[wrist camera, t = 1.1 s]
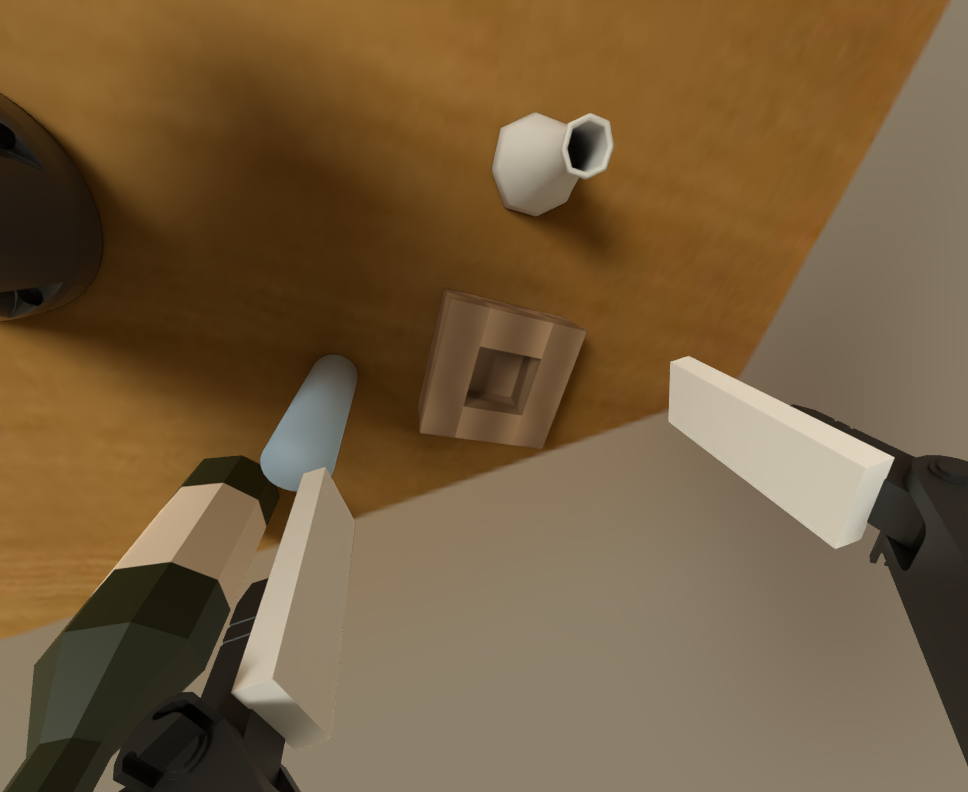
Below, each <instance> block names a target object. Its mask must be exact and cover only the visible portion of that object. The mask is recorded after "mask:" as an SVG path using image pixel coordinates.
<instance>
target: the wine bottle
mask: <svg viewBox="0 0 968 792" xmlns="http://www.w3.org/2000/svg"><path fill="white" fill-rule="evenodd" d="M278 499H279V494H278V491H277V487H276V485H275V484H273V483H272V482H271V481H269V480H268V479H267V477H266V476H265V475H264V473H263V471H262V469H261V466H260V465H258V464H256V463H254V462H253V461H251V460H249V459H247V458H245V457H243V456H231V457H220V458H209V459H204V460H203V461H202V462H201V463H200V464H199V466H198V467H197V468H196V469H195V470H194V471H193V472H192V474H191V475H190V476H189V477H188V478H187V479H186V480H185V482H184V483H183V484H182V485H181V487H180V488H179V489H178V490H177V491H176V493H175V494H174V495H173V496H172V498H171V499H170V500H169V501H168V502H167V504H166V505H165V506H164V507H163V509H162V510H161V511H160V512H159V513H158V515H157V516H156V517H155V518H154V520H153V521H152V522H151V523H150V524H149V526H148V527H147V528H146V529H145V531H144V532H143V533H142V534H141V535H140V537H139V538H138V539H137V540H136V542H135V543H134V544H133V545H132V546H131V548H130V549H129V550H128V551H127V553H126V554H125V555H124V556H123V557H122V559H121V560H120V561H119V562H118V564H117V565H116V566H115V567H114V568H113V570H112V571H111V572H110V573H109V575H108V576H107V577H106V578H105V579H104V581H103V582H102V583H101V584H100V586H99V587H98V588H97V589H96V591H95V592H94V593H93V594H92V595H91V597H90V598H89V599H88V600H87V602H86V603H85V604H84V605H83V606H82V608H81V609H80V610H79V611H78V613H77V614H76V615H75V616H74V617H73V619H72V620H71V621H70V622H69V624H68V625H67V626H66V627H65V629H64V630H63V631H62V632H61V633H60V635H59V636H58V637H57V638H56V639H55V641H54V642H53V643H52V644H51V646H50V647H49V648H48V649H47V650H46V652H45V653H44V654H43V655H42V657H41V658H40V659H39V660H38V662H37V663H36V664H35V665H34V674H33V686H32V697H31V708H30V719H29V730H28V742H27V753H26V759H25V760H24V762H23V763H22V765H21V766H20V768H19V769H18V771H17V772H16V773H15V775H14V776H13V778H12V779H11V781H10V782H9V784H8V785H7V786H6V788H5V789H4V791H3V792H93V790H94V788H95V786H96V784H97V783H98V781H99V779H100V777H101V775H102V773H103V771H104V770H105V767H106V766H107V764H108V762H109V760H110V758H111V757H112V756H113V755H114V754H115V753H116V752H117V751H118V750H119V749H121V747H122V745H123V744H124V742H125V741H126V740H127V738H128V737H129V735H130V734H131V732H132V731H133V729H134V728H135V727H136V726H137V725H138V724H139V722H140V721H141V720H142V719H143V718H144V717H145V716H146V715H147V714H148V713H149V712H150V711H151V710H152V709H154V708H155V707H156V706H158V705H159V704H160V703H162V702H163V701H164V700H166V699H168V698H170V697H172V696H174V695H176V694H179V693H181V692H183V691H184V690H185V689H186V688H187V687H188V686H189V685H190V684H191V683H192V682H193V681H194V680H195V679H196V678H197V677H198V676H199V675H200V674H201V673H202V672H203V671H204V670H205V668H206V665H207V663H208V661H209V659H210V656H211V654H212V652H213V649H214V647H215V645H216V642H217V640H218V638H219V636H220V633H221V631H222V629H223V626H224V624H225V622H226V619H227V617H228V615H229V612H230V610H231V608H232V605H233V603H234V601H235V599H236V596H237V594H238V592H239V589H240V587H241V585H242V582H243V580H244V578H245V575H246V573H247V571H248V568H249V566H250V564H251V561H252V559H253V557H254V555H255V552H256V550H257V548H258V545H259V543H260V541H261V538H262V536H263V534H264V532H265V529H266V527H267V525H268V522H269V520H270V518H271V515H272V513H273V511H274V508H275V506H276V504H277V501H278Z"/></svg>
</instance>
